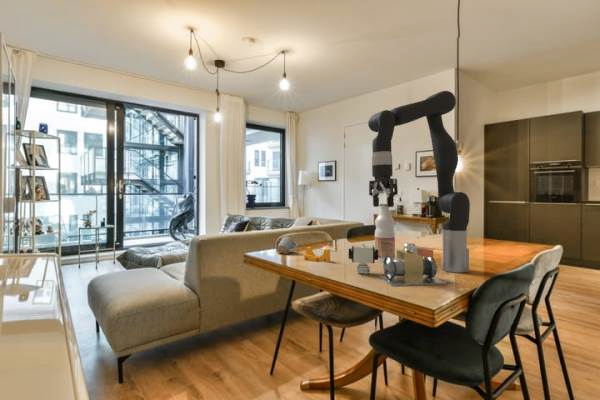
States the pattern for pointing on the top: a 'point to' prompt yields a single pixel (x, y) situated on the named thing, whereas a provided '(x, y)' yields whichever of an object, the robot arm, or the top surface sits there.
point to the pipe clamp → (312, 257)
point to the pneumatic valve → (363, 257)
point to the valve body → (410, 270)
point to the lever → (418, 250)
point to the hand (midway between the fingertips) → (382, 206)
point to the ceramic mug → (286, 245)
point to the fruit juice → (384, 234)
